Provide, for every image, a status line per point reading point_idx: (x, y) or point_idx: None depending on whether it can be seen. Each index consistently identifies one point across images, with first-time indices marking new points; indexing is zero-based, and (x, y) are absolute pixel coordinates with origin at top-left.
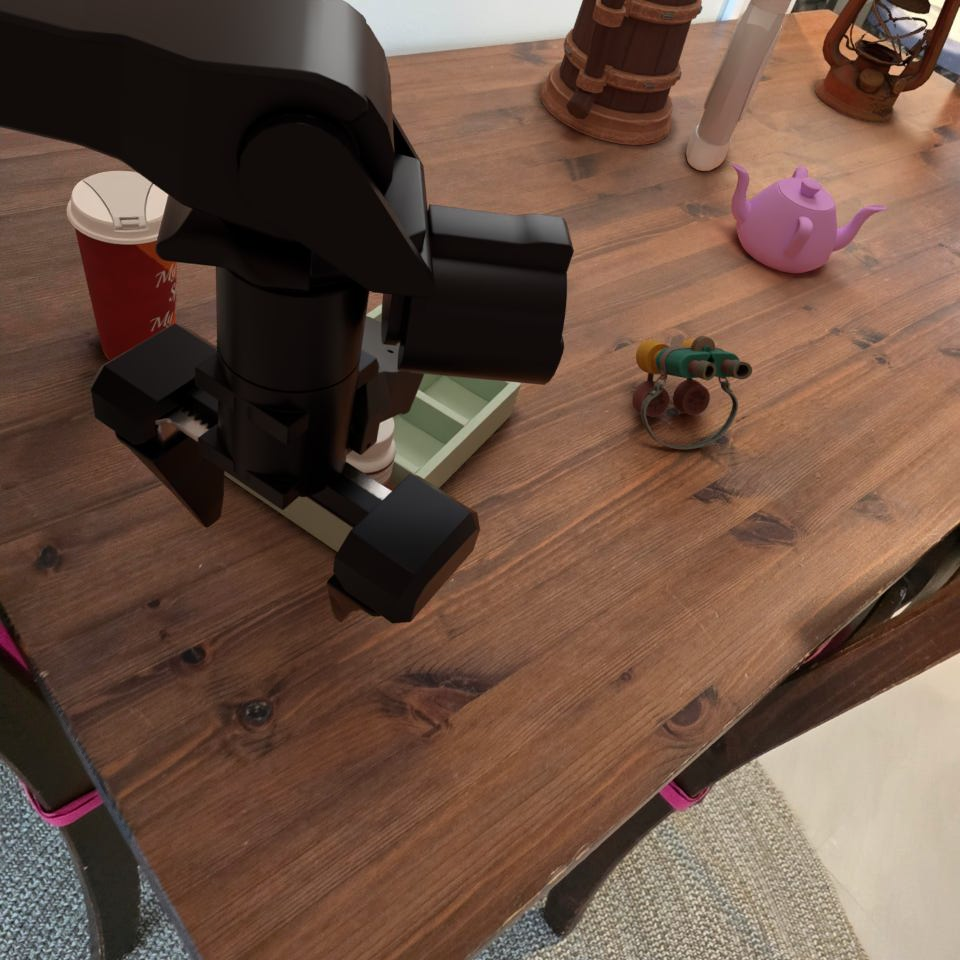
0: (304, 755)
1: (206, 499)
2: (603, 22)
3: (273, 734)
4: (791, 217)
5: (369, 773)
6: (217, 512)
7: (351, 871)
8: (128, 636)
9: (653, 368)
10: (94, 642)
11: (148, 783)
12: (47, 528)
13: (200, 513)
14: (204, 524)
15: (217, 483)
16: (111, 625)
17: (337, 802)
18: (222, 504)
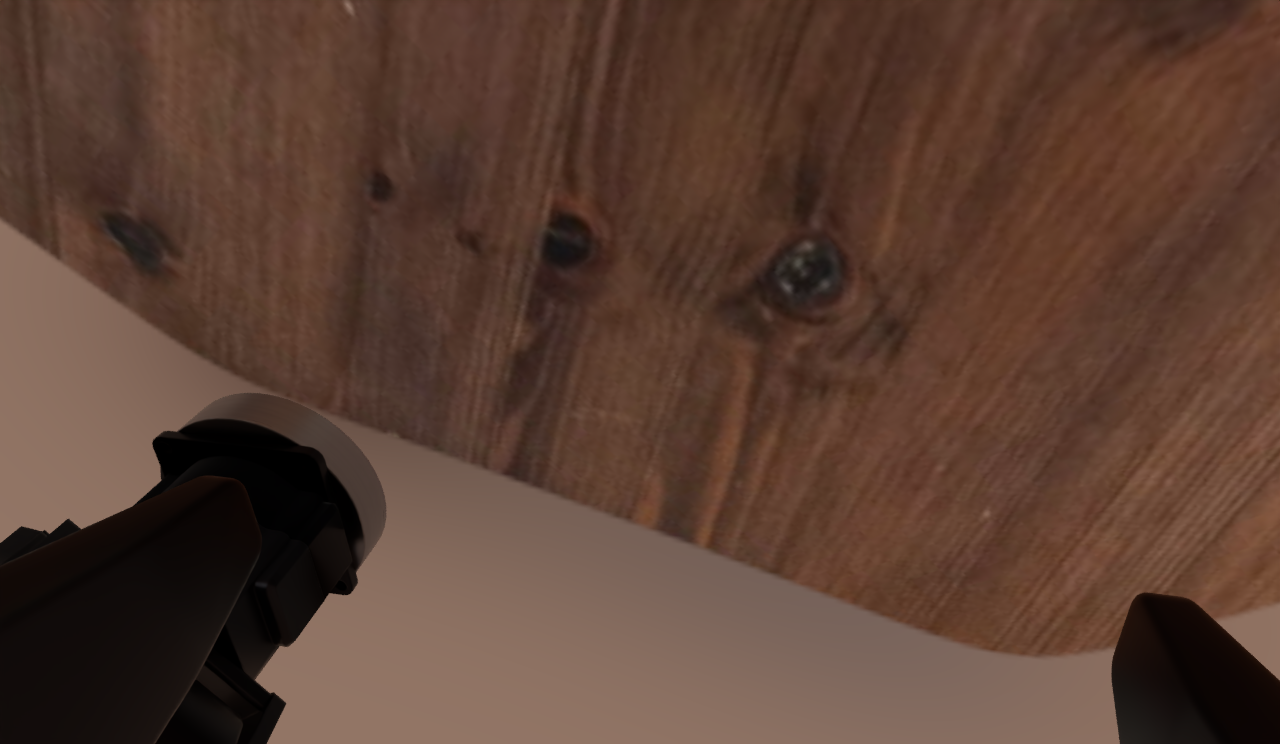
0: (994, 301)
1: (106, 705)
2: None
3: (884, 299)
4: None
5: (1206, 246)
6: (207, 533)
7: (1270, 465)
8: (421, 291)
9: None
10: (389, 341)
11: (725, 507)
12: (54, 181)
13: (176, 690)
14: (240, 590)
15: (19, 684)
16: (373, 291)
17: (1150, 354)
18: (174, 526)
